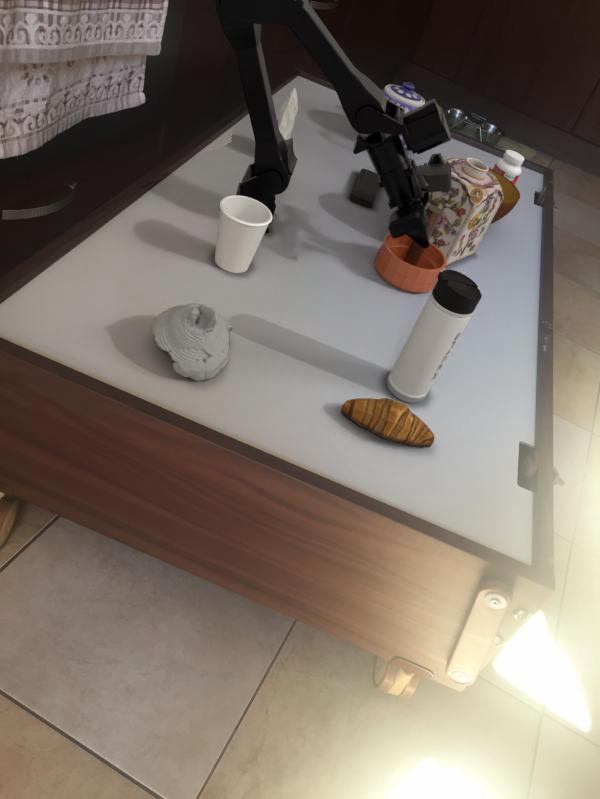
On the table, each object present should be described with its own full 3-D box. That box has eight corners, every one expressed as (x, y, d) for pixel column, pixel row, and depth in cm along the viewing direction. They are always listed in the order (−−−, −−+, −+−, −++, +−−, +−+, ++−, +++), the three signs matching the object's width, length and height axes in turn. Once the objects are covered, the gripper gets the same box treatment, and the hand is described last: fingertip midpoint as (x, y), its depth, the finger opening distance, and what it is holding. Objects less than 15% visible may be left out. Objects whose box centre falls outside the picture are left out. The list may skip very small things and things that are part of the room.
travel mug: (380, 371, 110) (435, 261, 98) (420, 378, 112) (479, 271, 99) (387, 399, 106) (445, 288, 93) (428, 406, 108) (491, 299, 95)
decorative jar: (399, 234, 145) (437, 151, 133) (430, 224, 153) (468, 144, 141) (445, 268, 141) (488, 184, 129) (475, 255, 148) (518, 175, 137)
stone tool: (272, 166, 150) (293, 95, 140) (259, 159, 150) (280, 88, 141) (289, 155, 156) (311, 86, 147) (277, 148, 157) (297, 79, 147)
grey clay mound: (234, 393, 101) (258, 353, 92) (149, 391, 96) (166, 348, 88) (223, 321, 106) (245, 276, 98) (142, 315, 101) (157, 268, 93)
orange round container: (382, 291, 128) (394, 265, 124) (365, 252, 136) (376, 226, 132) (442, 299, 132) (455, 274, 128) (422, 261, 140) (434, 237, 136)
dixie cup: (234, 243, 124) (249, 191, 117) (266, 271, 121) (283, 219, 114) (196, 253, 118) (209, 198, 112) (228, 282, 115) (244, 228, 109)
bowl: (481, 254, 150) (505, 211, 143) (409, 212, 154) (429, 169, 147) (507, 229, 163) (530, 189, 156) (440, 191, 167) (459, 151, 160)
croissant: (334, 428, 98) (347, 402, 95) (343, 397, 103) (355, 372, 100) (428, 464, 98) (443, 439, 95) (431, 432, 104) (446, 407, 100)
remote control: (370, 211, 150) (380, 180, 161) (373, 203, 149) (383, 173, 160) (348, 202, 150) (359, 172, 161) (350, 194, 149) (362, 165, 160)
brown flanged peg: (411, 281, 131) (442, 219, 123) (390, 269, 132) (419, 206, 123) (419, 272, 134) (450, 211, 126) (399, 261, 135) (428, 199, 127)
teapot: (407, 173, 169) (434, 111, 159) (346, 148, 168) (369, 84, 159) (420, 138, 188) (445, 81, 178) (365, 115, 188) (387, 56, 178)
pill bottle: (489, 203, 170) (512, 160, 163) (476, 189, 174) (497, 146, 167) (509, 205, 173) (532, 162, 166) (495, 191, 177) (518, 149, 170)
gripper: (439, 167, 111) (473, 252, 119) (438, 124, 125) (469, 203, 133) (371, 195, 115) (409, 276, 123) (378, 151, 129) (411, 225, 137)
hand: (427, 243), depth 129 cm, fingers closed on brown flanged peg, 2 cm apart
